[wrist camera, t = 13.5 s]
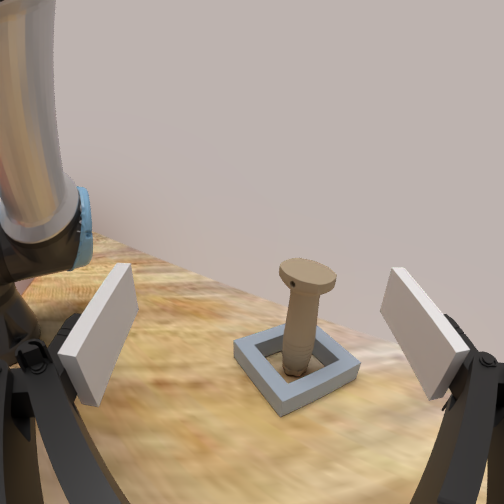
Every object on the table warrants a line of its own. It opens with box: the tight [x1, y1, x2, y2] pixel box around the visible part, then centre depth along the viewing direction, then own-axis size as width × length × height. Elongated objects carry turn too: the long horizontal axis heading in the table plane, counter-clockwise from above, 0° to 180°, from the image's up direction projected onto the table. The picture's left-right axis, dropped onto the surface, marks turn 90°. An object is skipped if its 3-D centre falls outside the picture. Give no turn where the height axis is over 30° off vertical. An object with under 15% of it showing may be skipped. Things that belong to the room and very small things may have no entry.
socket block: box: [234, 324, 361, 417], centre depth 39 cm, size 12×12×3 cm
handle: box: [279, 258, 337, 376], centre depth 37 cm, size 5×6×15 cm
